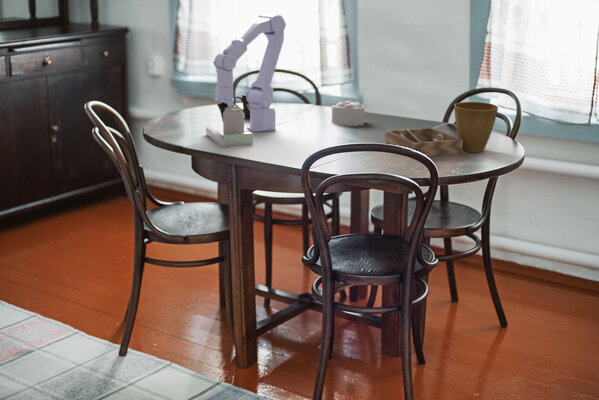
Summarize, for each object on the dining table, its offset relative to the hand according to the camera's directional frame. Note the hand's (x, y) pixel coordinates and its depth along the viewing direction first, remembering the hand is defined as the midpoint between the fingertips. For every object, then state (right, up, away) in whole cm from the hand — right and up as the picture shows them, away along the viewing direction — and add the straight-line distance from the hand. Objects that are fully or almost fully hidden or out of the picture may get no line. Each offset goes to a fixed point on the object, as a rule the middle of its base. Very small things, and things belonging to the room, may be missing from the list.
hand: (226, 122), depth 284 cm
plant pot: (+88, -12, -17) cm, 91 cm away
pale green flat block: (+3, -7, -6) cm, 10 cm away
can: (+4, -7, -7) cm, 11 cm away
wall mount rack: (+71, -11, -14) cm, 73 cm away
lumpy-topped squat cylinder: (+47, +2, +25) cm, 53 cm away
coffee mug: (+7, +5, +33) cm, 34 cm away
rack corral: (+71, -11, -16) cm, 74 cm away
